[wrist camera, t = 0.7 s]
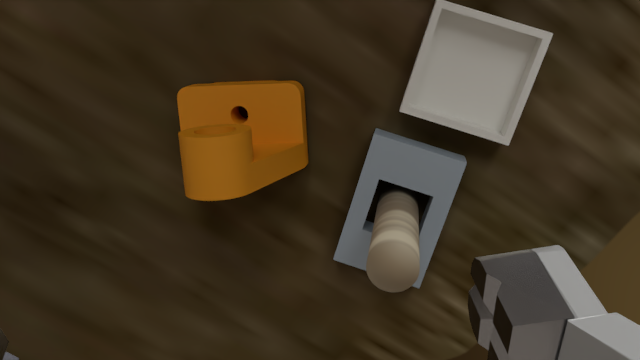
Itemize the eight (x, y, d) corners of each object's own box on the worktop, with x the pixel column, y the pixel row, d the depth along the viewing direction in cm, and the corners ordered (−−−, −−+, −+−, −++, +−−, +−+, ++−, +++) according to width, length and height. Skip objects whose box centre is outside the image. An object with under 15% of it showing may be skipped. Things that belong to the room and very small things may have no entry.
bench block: (375, 127, 53) (374, 133, 50) (464, 156, 52) (466, 163, 50) (336, 249, 56) (333, 259, 54) (419, 276, 56) (419, 288, 53)
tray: (436, -2, 49) (437, -2, 47) (546, 32, 48) (553, 33, 46) (400, 106, 52) (399, 111, 49) (504, 139, 51) (508, 145, 49)
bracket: (305, 78, 52) (275, 98, 41) (309, 160, 54) (282, 200, 43) (186, 83, 54) (126, 103, 43) (195, 162, 56) (139, 201, 45)
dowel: (385, 179, 54) (375, 235, 40) (424, 192, 54) (427, 253, 40) (372, 215, 55) (359, 282, 42) (410, 228, 55) (409, 299, 41)
